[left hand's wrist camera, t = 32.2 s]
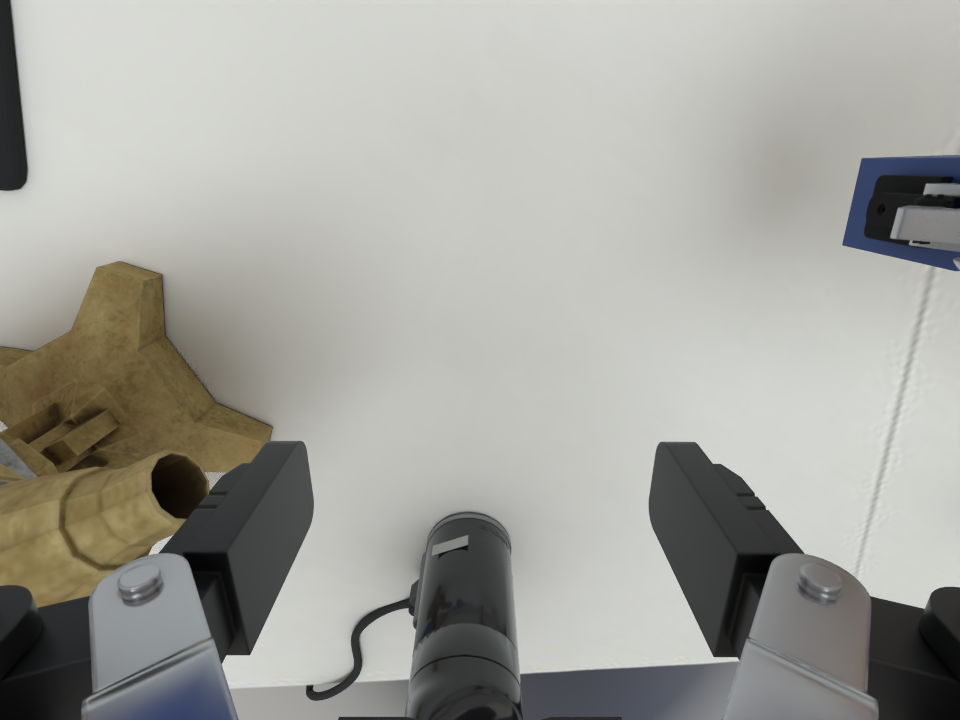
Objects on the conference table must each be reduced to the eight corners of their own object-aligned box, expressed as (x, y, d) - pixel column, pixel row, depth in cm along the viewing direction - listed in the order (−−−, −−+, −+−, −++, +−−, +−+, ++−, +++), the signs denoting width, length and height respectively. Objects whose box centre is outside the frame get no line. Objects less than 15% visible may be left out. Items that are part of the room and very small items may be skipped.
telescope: (433, 379, 50) (293, 1033, 12) (115, 526, 56) (-608, 1249, 19) (304, 155, 42) (-1003, 103, 5) (-45, 354, 49) (-1758, 979, 11)
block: (947, 155, 29) (1106, 152, 21) (923, 242, 30) (1062, 267, 23) (861, 158, 29) (990, 157, 21) (841, 245, 30) (955, 271, 23)
